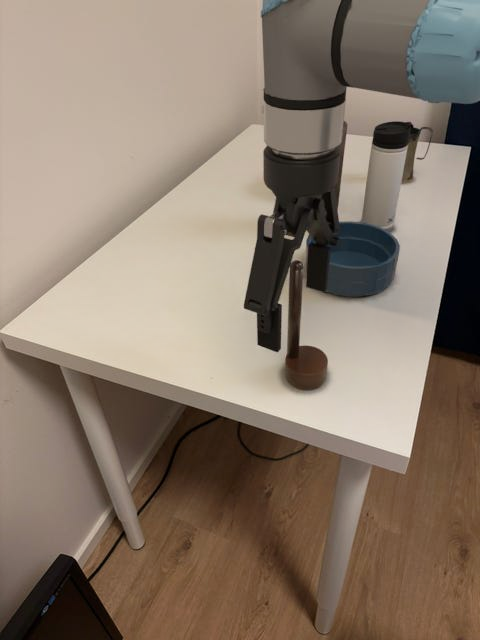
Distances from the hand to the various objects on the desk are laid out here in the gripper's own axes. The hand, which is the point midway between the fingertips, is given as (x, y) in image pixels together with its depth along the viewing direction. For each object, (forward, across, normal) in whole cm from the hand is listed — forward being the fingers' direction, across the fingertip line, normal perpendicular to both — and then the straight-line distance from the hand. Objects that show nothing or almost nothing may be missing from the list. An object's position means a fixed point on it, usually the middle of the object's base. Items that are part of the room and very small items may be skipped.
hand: (294, 315), depth 61 cm
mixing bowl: (+10, -26, -2) cm, 28 cm away
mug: (+10, -69, -5) cm, 70 cm away
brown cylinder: (+10, -40, -14) cm, 44 cm away
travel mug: (+10, -44, -3) cm, 45 cm away
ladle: (+10, 0, +2) cm, 10 cm away
